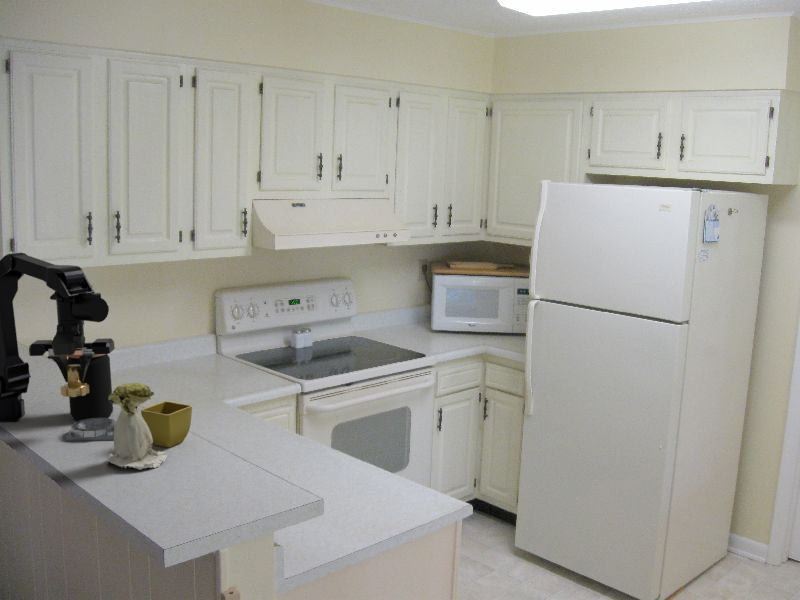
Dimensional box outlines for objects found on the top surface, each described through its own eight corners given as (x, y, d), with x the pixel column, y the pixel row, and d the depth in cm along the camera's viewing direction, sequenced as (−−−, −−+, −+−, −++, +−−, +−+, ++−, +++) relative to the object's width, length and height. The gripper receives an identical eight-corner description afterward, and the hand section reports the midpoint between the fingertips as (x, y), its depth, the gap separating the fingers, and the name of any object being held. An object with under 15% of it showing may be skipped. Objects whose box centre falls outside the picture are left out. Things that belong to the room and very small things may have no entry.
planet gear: (59, 398, 205) (57, 369, 204) (62, 391, 211) (60, 363, 210) (88, 396, 207) (86, 367, 205) (90, 389, 213) (88, 362, 212)
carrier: (66, 441, 206) (65, 431, 205) (77, 427, 216) (76, 418, 216) (146, 439, 208) (146, 429, 208) (154, 425, 218) (153, 416, 218)
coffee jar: (120, 410, 230) (116, 345, 226) (101, 423, 219) (97, 355, 216) (83, 409, 231) (78, 344, 228) (62, 421, 221) (57, 354, 218)
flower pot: (141, 445, 204) (139, 409, 202) (166, 435, 211) (165, 400, 210) (169, 452, 200) (167, 415, 198) (194, 441, 207) (193, 405, 206)
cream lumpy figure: (141, 475, 185) (137, 393, 182) (95, 466, 190) (91, 386, 187) (176, 458, 195) (173, 380, 192) (132, 450, 201) (128, 374, 198)
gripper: (18, 326, 197) (23, 391, 200) (101, 324, 199) (105, 389, 201) (34, 317, 208) (39, 379, 211) (113, 315, 210) (116, 377, 212)
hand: (74, 381), depth 208 cm, fingers closed on planet gear, 3 cm apart
